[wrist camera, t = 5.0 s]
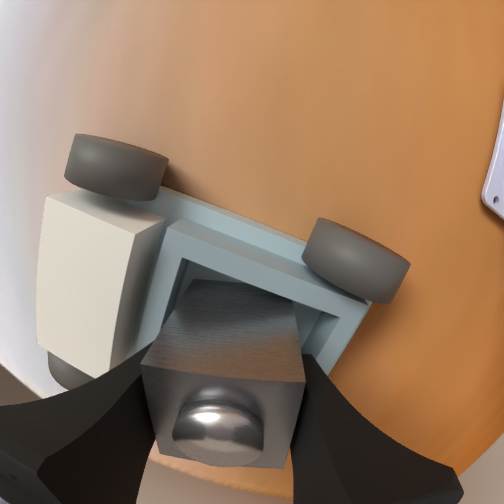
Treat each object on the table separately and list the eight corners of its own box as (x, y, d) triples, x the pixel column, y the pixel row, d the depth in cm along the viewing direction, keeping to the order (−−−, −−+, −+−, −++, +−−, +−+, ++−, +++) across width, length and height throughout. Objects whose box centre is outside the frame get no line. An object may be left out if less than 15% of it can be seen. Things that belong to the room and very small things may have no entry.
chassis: (387, 246, 13) (430, 277, 9) (285, 418, 16) (287, 472, 12) (107, 137, 12) (52, 130, 8) (71, 333, 15) (33, 370, 11)
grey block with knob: (289, 286, 12) (308, 398, 6) (279, 363, 13) (283, 482, 7) (193, 278, 12) (131, 378, 6) (195, 356, 13) (155, 466, 7)
